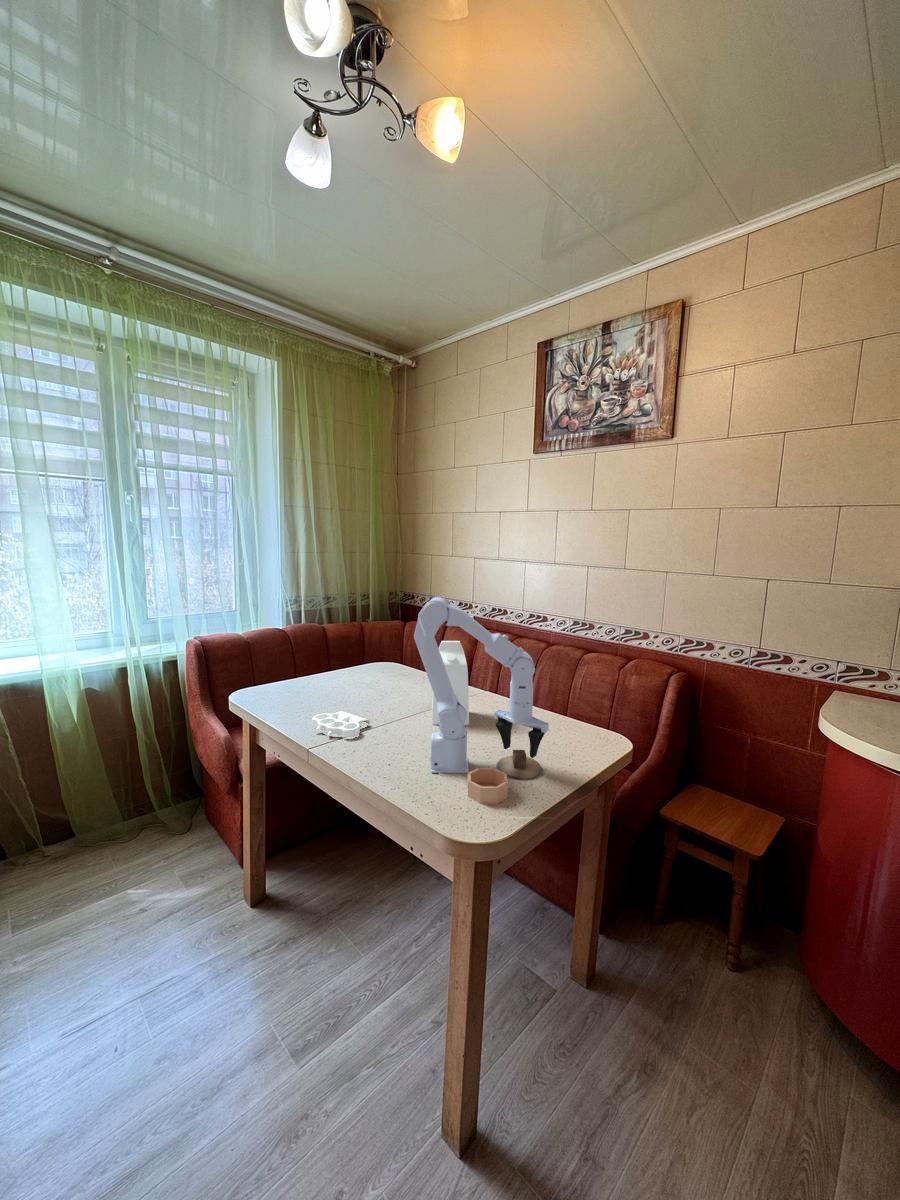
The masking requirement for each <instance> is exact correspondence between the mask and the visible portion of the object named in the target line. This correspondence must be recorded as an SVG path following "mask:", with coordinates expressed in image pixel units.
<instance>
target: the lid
mask: <svg viewBox="0 0 900 1200" xmlns="http://www.w3.org/2000/svg"><path fill="white" fill-rule="evenodd" d="M497 763H498V766H497V767H498V770H499V771H501V772H504V773H506V775H507V777H510V778H514V779H531V778H535V777H537V776H538V775H539V774H540V773H541V767H542V765H541V764H540V763H539V761H538V760H536V759H534V758H531V757H530V756H529V757H528V756H527V753H526V750H525V749H512V755H508V756H504V757H502V758H500V759H499V760H498V761H497Z"/></svg>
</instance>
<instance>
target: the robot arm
mask: <svg viewBox="0 0 900 1200" xmlns="http://www.w3.org/2000/svg"><path fill="white" fill-rule="evenodd" d="M417 614H418V615H417V616H418V617H417V622H416V625H415V629H414V633H413V638H414V642H415V645H416V648H417V650H418V652H419V656H420V658H421V661H422V664H423V667H424V670H425V672H426V676H427V678H428V681H429V684H430V687H431V690H432V694H433V693H434V695H435V698H436V701H437V708H438V715H439V718H440V723H439V725H438V727H439V728H438V729H439V731H435V732H431V738H430V739H431V741H430V754H429V761H430V773H432V774H433V773H434V774H436V773H437V774H438V773H456V774H457V773H460V774H463V773H464V774H465V773H467V774H468V773H469V772H470V771H469V759H468V757H467V755H468V753H467V752H468V730H467V729H466V728H465V727H466V725H464V724H465V719H466V715H467V713H466V709H465V708H464V706H463V705H462V704H461V703H460V702H459V700H458V697H457V696H456V695H455V693H454V691H453V688H452V685H451V683H450V680H449V677H448V674H447V671H446V668H445V666H444V663H443V660H442V657H441V654H440V651H439V645H438V643H437V641H436V638H435V636H436V635H437V632H438V630H439V628H440V627H441V626H442V625H443V624H444V623H445V622H447V623H446V625H445V626H446V627H458V628H459V627H460V629H462V630H463V631H465V632H466V633H467V634H468V635H470V636H472V637H473V638H474V639H476V640H478V641H479V642H480V643H482V644H483V645H484V651H485V653H486V654H488V655H489V656H490V657H492V658H494V659H495V660H496V661H497V662H498V663H500V664H501V665H502V666H503V667H505V668H509V669H510V673H511V676H510V679H511V680H510V682H509V711H508V710H501V709H497V710H495V711H494V720H497V721H496V722H495V727H496V729H497V730H498V734H499V735H500V738H501V741H502V746H503V749H504V750H508V749H509V748H510V747H511V743H512V739H511V738H512V728H513V724H514V725H519V726H523V727H525V728H526V727H527V728H530V731H528V732H527V733H528V734H527V735H528V737H529V738H528V739H529V758H532V759H534V758H535V757H537V755H538V750H539V747H540V743H541V742H542V740H543V738H544V736H545V734H546V733H547V732H548V731H549V730H550V728H549V726H550V725H549V724H550V723H549V722H545V721H543V720H541V719H539V718H537V717H535V716H534V715H533V706H534V705H533V701H534V698H533V697H534V683H533V680H534V674H535V673H536V668H535V662H534V661H533V658H532V656H531V655H530V654H529V653H528V651H526V650H524V649H523V648H522V647H521V646H519V647H518V646H516V645H515V644H514V643H513V642H511V640H509V636H507V635H506V634H503V635H502V634H501V633H499V632H498V633H492V632H490V631H489V630H488V629H486V628H485V627H484V626H483V625H481V624H480V623H479V622H478V621H477V620H476V619H474V618H473V617H472V616H471V615H469V614H468V613H467V612H466V611H465V610H463V609H462V607H460V606H458V605H457V604H455V603H453V602H450V601H449V599H447V598H446V597H444V596H434V597H432V598H431V599H429V601H427V602H426V603H424V605H423V606H422V608H421V610H420V611H419V612H418V613H417ZM531 729H532V730H531Z"/></svg>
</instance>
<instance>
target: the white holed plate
mask: <svg viewBox="0 0 900 1200" xmlns="http://www.w3.org/2000/svg"><path fill="white" fill-rule="evenodd" d="M311 722H313V723H312V725H313V724H316V725H318V727H317V728H316V729H314V730H319V729H320V730H324V731H327V732H328V735H332V734H337V735H342V736H343V737H354V736H357V735H358V734H359V733H360V734H361V732H360V727H361V726H360V724H361V723H362V722H366V723H368V724H369V725H370V724H371V721H370V719H368V718H366V717H365V718H364V717H360V716H358V715H356V714H351V713H349V712H345V711H343V710H341V711H337V712H334V713H319V714H316V715H314V716H313V717H312V721H311Z"/></svg>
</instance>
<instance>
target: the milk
mask: <svg viewBox="0 0 900 1200" xmlns="http://www.w3.org/2000/svg"><path fill="white" fill-rule="evenodd" d="M438 648H439V651H440V654H441V657H442V660H443V663H444V666H445V668H446V671H447V674H448V677H449V680H450V683H451V685H452V688H453V691H454V693H455V695H456V696H457V697H458V700H459V702H460V703H461V704H462V705H463V706H464V708H465V709H466V713H467V715H466V719H465V724H464V726H470V710H469V709H470V708H469V707H470V704H469V672H468V669H469V668H468V663H467V659H466V655H465V650H464V648H463V646H462V644H461V641H460V640H441V642H440V644H439V645H438ZM431 704H432V705H431V726H439V723H440V718H439V715H438V708H437V701H436V698H435V695H434V693H433V692H432V703H431Z"/></svg>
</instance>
